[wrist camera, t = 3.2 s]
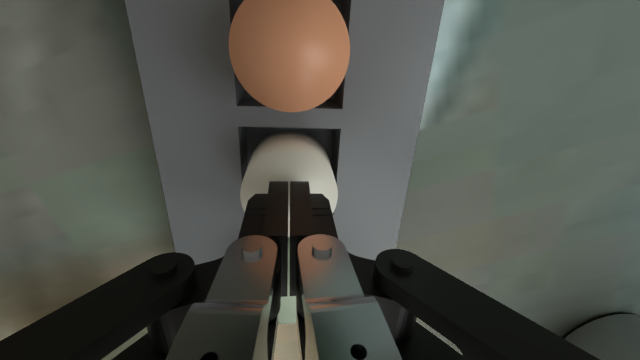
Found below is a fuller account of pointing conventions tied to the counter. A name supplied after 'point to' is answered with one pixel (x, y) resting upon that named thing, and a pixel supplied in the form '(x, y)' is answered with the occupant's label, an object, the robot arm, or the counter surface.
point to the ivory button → (289, 167)
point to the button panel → (282, 117)
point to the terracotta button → (289, 51)
